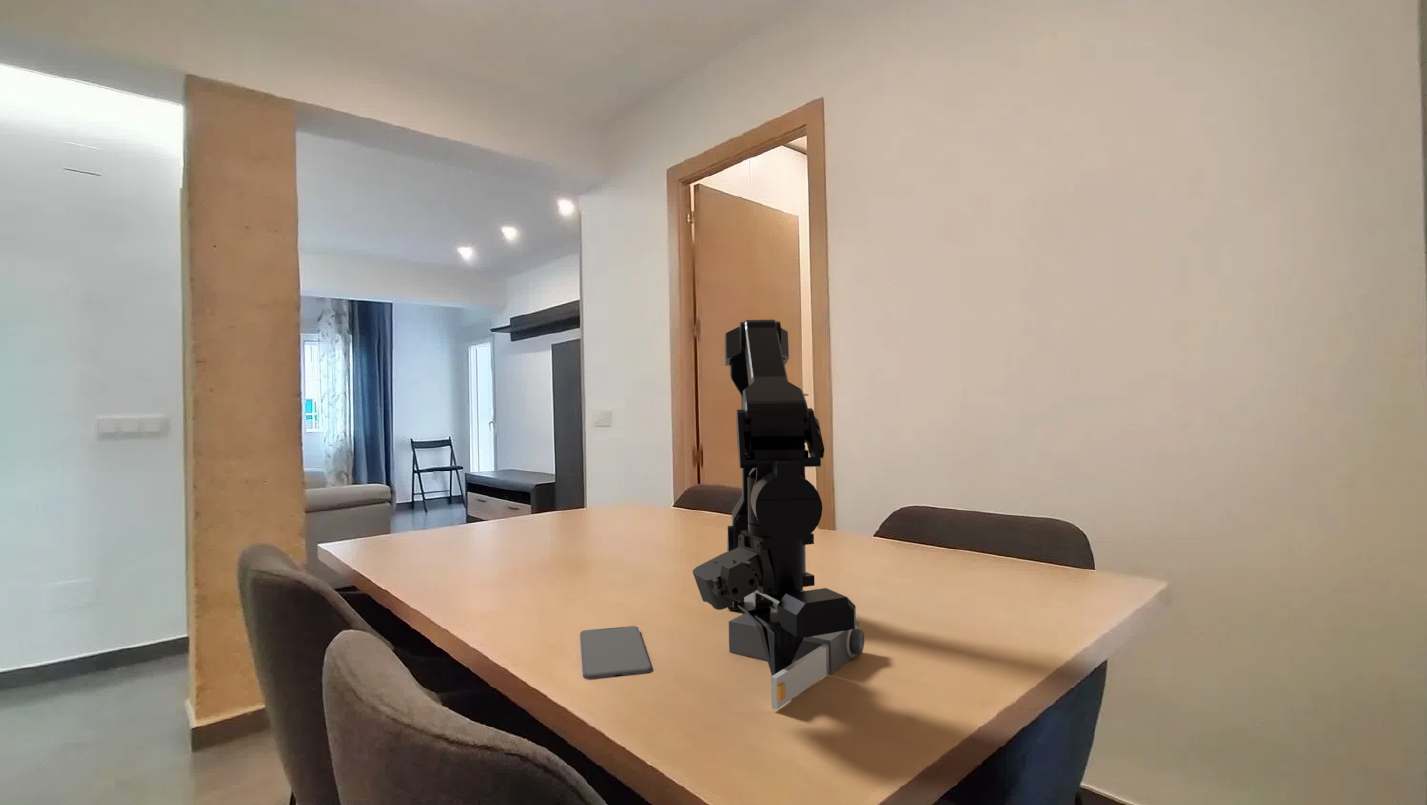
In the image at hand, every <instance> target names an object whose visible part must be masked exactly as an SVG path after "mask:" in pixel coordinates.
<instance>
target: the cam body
mask: <svg viewBox="0 0 1427 805" xmlns="http://www.w3.org/2000/svg"><path fill="white" fill-rule="evenodd" d="M859 625H860V624H859V620H857V619H856V627H855V629H851V630H846V631H840V632H834V633H829V634H823V635H817V636H812V637H806V638H805V637H804V639H803V640H802V642H801V644H800V647H799V649H798V651H797V653H796V655H795V657H794V659H793V661H792V663H794V662H796V661H797V660H799V659H801V658H802V657H804V656H805V655H807V654H809V653H810V652H812V651H814V650H815V649H817V648H818V647H820V646H821V645H824V644H825V645H828V649H829V674H828V675H830V676H831V675H833V674H834V673H835V672H837V671H838V670H839V669H840V668H841V667H843V666H844V664H846V663H847V662H848V661H850V660H851V659H853V658H855V657H856V656H860V655H862V653H863V651H864V647H865V632H864V631H863V629H861V628H859V627H860V626H859ZM728 650H729V651H728V653H732V654H736V655H742V656H746V657H749V658H750V657H751V658H755V659H760V660H762V661H763V660H764V661H767V657H766V654H765V651H764V647H763V644H762V641H761V637H760V634H759V631H758V628H757V625H756V623H755V621H754V620H753V619H752V618H751V617H750V616H749V615H747V614H746V613H745V612H743V614H740V615H738V616H737V617H735V618H732V619H731V620H729V621H728ZM792 663H791V664H792Z"/></svg>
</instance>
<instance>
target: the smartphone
mask: <svg viewBox="0 0 1427 805" xmlns="http://www.w3.org/2000/svg"><path fill="white" fill-rule="evenodd" d="M579 639H580V640H579V641H580V644H579V645H580V652H581V653H580V655H581V669H582V677H583V679H584V680H597V679H606V678H612V677H613V678H614V677H615V676H619V675H622V677H623V676H631V675H632V676H633V675H641V674H649V673H651V672H652V670H653V667H652V664H651V661H650V658H649V656H648V652H647V650H646V646H645V644H644V641H643V638H642V635H641V633H640V630H639V627H638V626H636V625H631V626H619V627H618V626H617V627H616V626H615V627H605V628H596V629H584V630H582V631H580V633H579Z"/></svg>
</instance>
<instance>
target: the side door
mask: <svg viewBox="0 0 1427 805" xmlns="http://www.w3.org/2000/svg"><path fill="white" fill-rule="evenodd" d="M827 675H830V674H829V649H828V645H825V644H824V645H821V646H820V647H818V648H817V649H815V650H814V651H812V652H810V653H809V654H807V655H805V656H804V657H802V658H801V659H799V660H797V661H796V662H794V663H792V664H791V665H789V666H788V667H786V668H784V669H783V670H781V671H779V672H778V673H776V674H775V675H773V676H772V675H770V687H771V688H770V689H771V690H770V699H771V702H770V703H771V708H772V709H775V710H778V709H780V708H781V707H782V706H785V705H786V704H787V703H788V702H790V701H791V700H792V699H794V698H796V697H797V696H798V695H800V694H801V693H803V692H804V691H805V690H807V689H808V688H810V687H811V686H812V685H814V684H815V683H817V682H818V681H820V680H821V679H823V678H824V677H826V676H827Z"/></svg>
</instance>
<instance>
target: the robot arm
mask: <svg viewBox="0 0 1427 805" xmlns="http://www.w3.org/2000/svg"><path fill="white" fill-rule="evenodd" d="M724 334H725V335H724V336H725V337H724V366H729V377H730V378H731V380H732V382H733V384H734V386H735V387H736V390H737V391H738V392H739V394H740V406H741V407H740V409H736V419H735V420H736V421H735V422H736V443H737V454H738V456H737V457H738V466H739V467H738V468H740V469H741V496H740V497H739V499H738V501H737V503H736V504H735V506H733V507H734V508H733V509H732V511H731V525H727V528H726V530H727V533H726V534H727V535H726V536H727V537H726V538H727V540H726V542H727V543H726V544H727V545H726V549H727V550H726V552H723V553H721V554H718V555H717V556H715V557H713V558H712V559H709V560H708V561H705V562H704V563H701V564H699V565H698V566H696V567H695V568H694V569H693V570H692V574H693V577H694V580H695V583H696V586H697V588H698V591H699V594H700V596H701V597H700V598H701V599H702V602H704V603H708V604H709V605H711V606H712V608H713V609H715V610H717V611H719V610H720V611H721V610H725V609H728V610H729V611H730V610H731V611H737V612H742V613H746V614H747V615H749V616H750V617H751V618H752V619H753V620H754V621H755V623H756V625H757V628H758V631H759V634H760V637H761V641H762V644H763V647H764V651H765V654H766V657H767V660H766V661H767V664H768V667H769V670H770V674H771V676H773V675H775V674H776V673H778V672H779V671H781V670H783V669H784V668H786V667H788V666H789V665H791V663H792V661H793V659H794V657H795V655H796V653H797V651H798V649H799V647H800V644H801V642H802V640H803V639H804V637H805V638H806V637H812V636H817V635H823V634H829V633H834V632H840V631H846V630H851V629H855V627H856V620H857V617H856V616H857V615H856V609H857V608H856V605H855V603H854V602H852V600H851V599H849V597H848V596H845V595H843V594H841V593H839V592H836V591H834V590H832V589H829V588H827V587H824V588H817V589H810V590H804V588H806V587H813V586H814V587H815V574H812V573H809V572H807V567H806V565H807V564H806V563H807V562H806V546H807V545H815V537H814V536H815V534H814V533H813V532H815V530H816V529H817V527H818V525H819V524H820V522H821V519H822V514H823V502H822V499H821V496H820V494H819V492H818V490H817V488H816V487H815V486H814V485H813V484H812V483H811V482H810V481H809V480H808V479H806V468H812V467H813V468H814V467H815V468H816V467H819V468H820V467H821V466H822V460H821V459H824V455H825V446H824V442H823V437H822V431H821V428H820V423H819V419H818V418H816V416H815V410H814V409H813V408H812V407H811V408H810V407H808V403H807V400H806V397H805V394H804V391H803V389H801V388H800V387H799V386H797V385H795V384H793V383H792V382H790V381H789V379H788V376H787V375H788V374H787V371H786V365H787V363H788V361H789V359H790V353H789V352H790V351H789V348H790V347H789V332H788V331H787V330H785V329H784V328H782V326H781V322H780V321H779V320H778V321H777V320H775V318H774V319H746V320H744V321H740V323H739V326H737V327H736V328H733V329H731V330H729V331H728V332H727V331H726V333H724ZM806 446H807V449H806Z"/></svg>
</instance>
